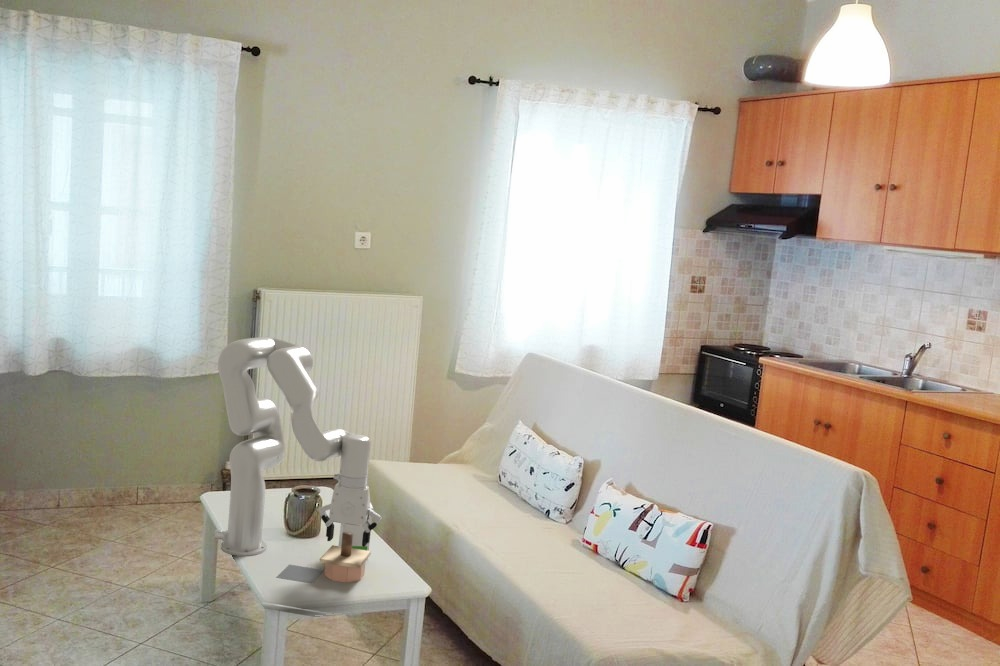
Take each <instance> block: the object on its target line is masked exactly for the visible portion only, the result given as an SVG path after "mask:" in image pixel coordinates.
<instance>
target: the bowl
mask: <svg viewBox="0 0 1000 666" xmlns="http://www.w3.org/2000/svg"><path fill="white" fill-rule="evenodd" d="M366 561H367V560H366ZM366 561H365V562H364V563H363V565H362V566H361V567H360V568H354V567H347V566H341V565H334V564H328V563H324V564H325V565H324V576H325V577H327V578H328V579H329V580H331V581H333V582H341V583H352V582H358V581H359V582H360V581H361V580H362V579H363V578H364V576H365V572H366V571H365V570H366Z"/></svg>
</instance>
